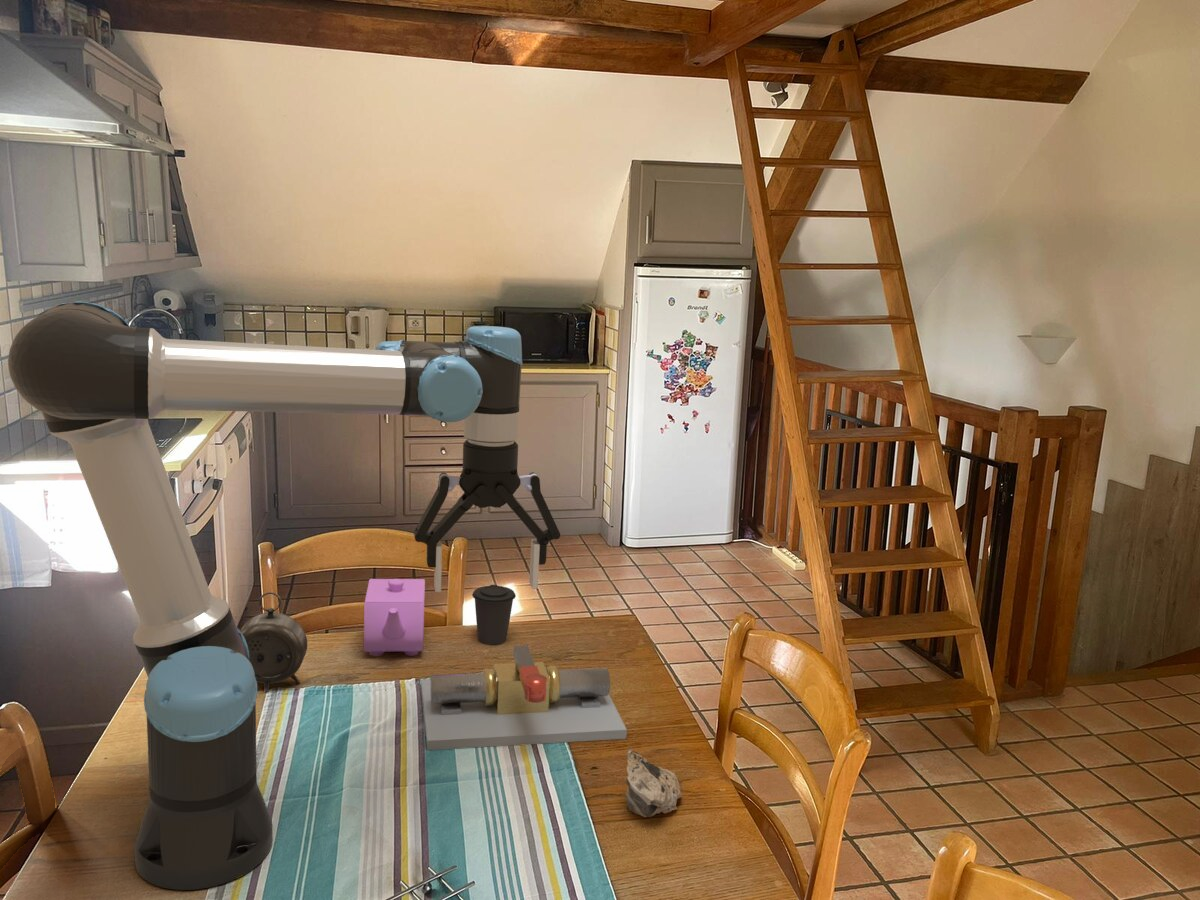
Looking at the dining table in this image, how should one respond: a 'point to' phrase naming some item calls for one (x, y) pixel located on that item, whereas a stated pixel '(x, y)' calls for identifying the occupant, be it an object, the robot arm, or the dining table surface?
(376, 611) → the pink toy block
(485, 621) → the coffee cup
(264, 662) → the alarm clock
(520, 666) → the lever
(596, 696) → the valve body
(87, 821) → the dining table surface
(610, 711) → the mount board
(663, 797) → the rock
